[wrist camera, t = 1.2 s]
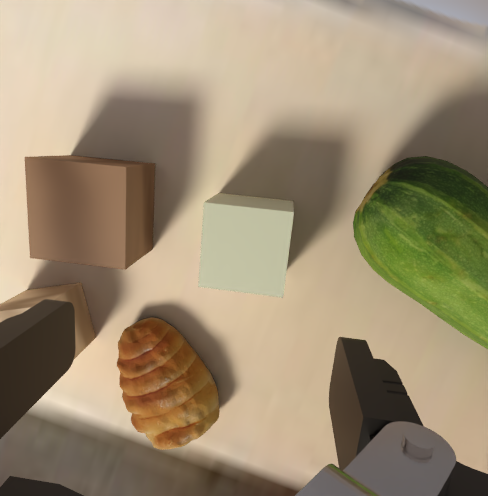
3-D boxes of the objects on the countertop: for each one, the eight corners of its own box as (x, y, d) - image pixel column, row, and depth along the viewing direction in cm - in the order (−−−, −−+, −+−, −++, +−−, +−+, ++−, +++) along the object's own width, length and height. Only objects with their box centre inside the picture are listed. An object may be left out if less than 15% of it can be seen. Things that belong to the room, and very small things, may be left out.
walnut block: (155, 163, 27) (126, 167, 22) (153, 248, 28) (125, 269, 23) (71, 155, 27) (24, 157, 22) (73, 239, 29) (30, 257, 24)
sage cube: (293, 200, 26) (293, 212, 21) (284, 271, 28) (283, 297, 23) (219, 192, 27) (203, 202, 22) (213, 263, 28) (198, 286, 23)
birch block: (81, 282, 30) (45, 305, 25) (96, 336, 31) (64, 368, 26) (27, 289, 30) (-17, 313, 26) (43, 342, 31) (4, 374, 27)
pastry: (104, 330, 30) (79, 354, 27) (182, 301, 29) (167, 323, 25) (156, 430, 32) (139, 466, 28) (232, 407, 31) (224, 441, 27)
